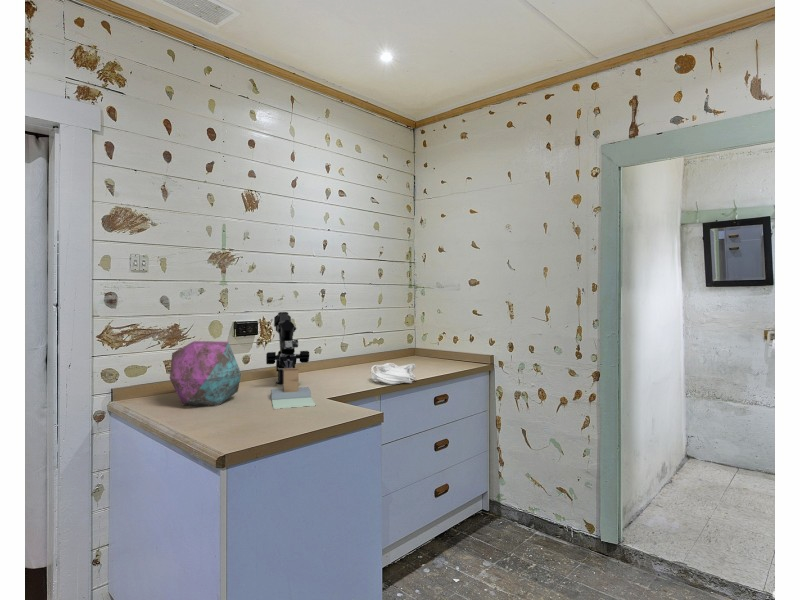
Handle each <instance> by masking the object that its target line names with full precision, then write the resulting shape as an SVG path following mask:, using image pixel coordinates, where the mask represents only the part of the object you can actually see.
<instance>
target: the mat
mask: <svg viewBox="0 0 800 600" xmlns="http://www.w3.org/2000/svg"><path fill="white" fill-rule="evenodd" d="M271 403H272V408H273V410H281V409H280V408H283V409H292V408H291V407H297V408H304V407H303V406H310V407H316V406H315V405H316V403H315V401H314V400H313V398H312V396H311V397H309V398H295V399H280V400H271Z"/></svg>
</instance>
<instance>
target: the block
mask: <svg viewBox="0 0 800 600" xmlns="http://www.w3.org/2000/svg"><path fill="white" fill-rule="evenodd" d="M299 378H300V377H299V369H298V367H295V368H287V369H283V384H282V388H283V391H284V392H299V387H300V386H299V383H300V382H299Z"/></svg>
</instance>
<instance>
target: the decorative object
mask: <svg viewBox="0 0 800 600" xmlns="http://www.w3.org/2000/svg"><path fill="white" fill-rule="evenodd" d="M241 376H242V372H241V369H240V367H239V365H238V362H237V360H236V358H235V355H234V352H233V350H232V348H231V344H230V343H229V341H212V340H211V341H209V340H208V341H205V340H204V341H202V340H201V341H198V340H194V341H192V342H190V343H188V344H186V345H185V346H184V345H183V346H182V347H181V348H179V349H177V350H175V351H173V352H172V354H171V364H170V372H169V380H170V382H171V384H172V386H173V388H174V389H175V390H174V391H175V392H176V394H177V396H178V398H179V400H180V402H181V404H182V405H183V404H190V405H189V406H208V405H216V406H217V405H219V406H220V405H221V404H223V403H224V402H225V401H227V400H228V399H230V398H231V397H232V396H234V395H235V394H236V393H238V392H239V387H240V381H241ZM216 406H215V407H216ZM217 407H218V406H217Z"/></svg>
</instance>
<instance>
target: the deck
mask: <svg viewBox="0 0 800 600" xmlns="http://www.w3.org/2000/svg"><path fill="white" fill-rule="evenodd" d="M309 397H311V398H312V390H311V388H310V387H309V386H301V387H300V386H299V392H284V391H283V387H282V388H271V389H270V399H272V400H280V399H295V398H309ZM272 400H271V401H272Z"/></svg>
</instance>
